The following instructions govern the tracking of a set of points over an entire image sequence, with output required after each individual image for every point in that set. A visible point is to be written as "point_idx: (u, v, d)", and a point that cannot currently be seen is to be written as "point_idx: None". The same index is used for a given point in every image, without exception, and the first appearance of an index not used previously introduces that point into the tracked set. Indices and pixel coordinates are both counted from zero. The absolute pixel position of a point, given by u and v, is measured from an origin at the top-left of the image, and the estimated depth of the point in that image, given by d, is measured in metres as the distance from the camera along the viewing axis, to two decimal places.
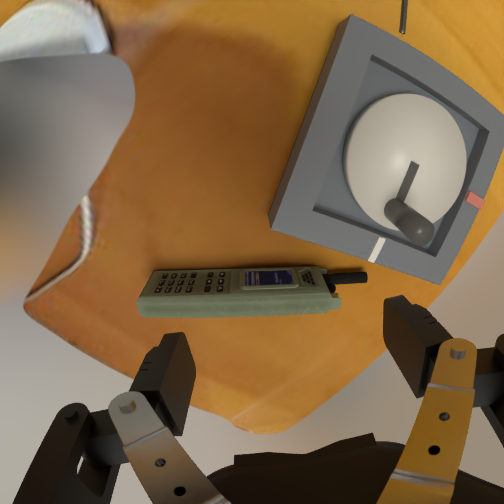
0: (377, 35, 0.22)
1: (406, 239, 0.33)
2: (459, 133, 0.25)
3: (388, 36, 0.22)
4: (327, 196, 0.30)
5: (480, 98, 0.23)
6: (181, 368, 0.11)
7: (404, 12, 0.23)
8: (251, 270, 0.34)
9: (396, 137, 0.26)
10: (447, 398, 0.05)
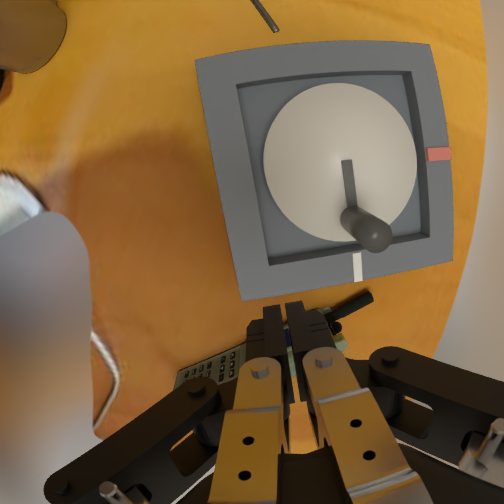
0: (230, 61, 0.23)
1: None
2: (377, 97, 0.23)
3: (241, 54, 0.23)
4: (282, 241, 0.30)
5: (378, 44, 0.22)
6: None
7: (262, 11, 0.24)
8: None
9: (310, 147, 0.25)
10: (347, 406, 0.06)
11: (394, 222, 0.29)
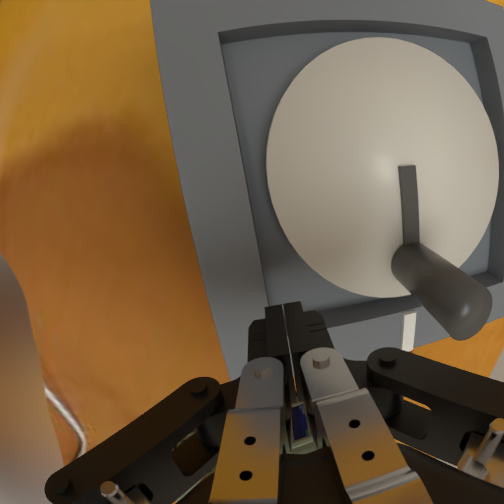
0: None
1: None
2: (448, 67, 0.12)
3: None
4: (295, 295, 0.18)
5: None
6: None
7: None
8: None
9: (348, 142, 0.14)
10: (345, 406, 0.06)
11: None
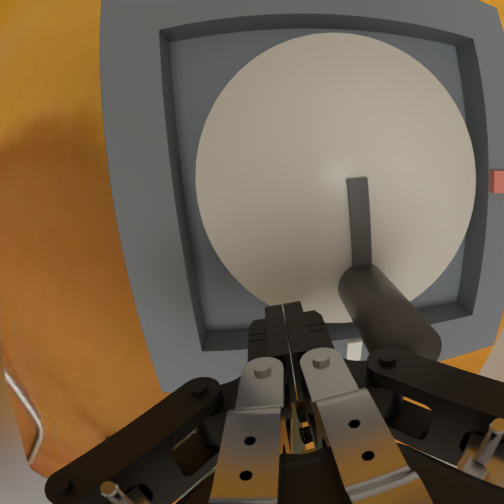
0: None
1: None
2: (415, 64, 0.11)
3: None
4: (231, 309, 0.17)
5: None
6: None
7: None
8: None
9: (286, 152, 0.13)
10: (345, 407, 0.06)
11: None
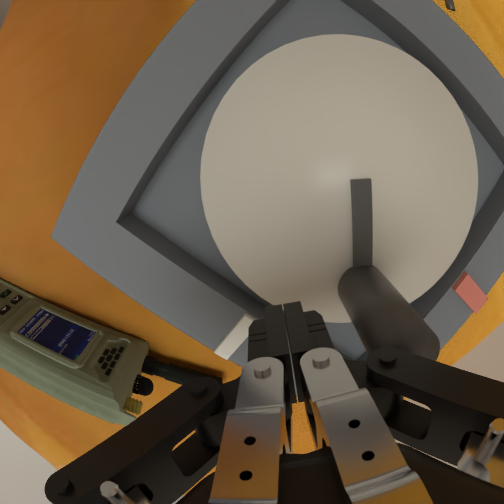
0: None
1: None
2: (423, 69, 0.11)
3: None
4: (168, 209, 0.16)
5: None
6: None
7: None
8: (48, 310, 0.19)
9: (291, 151, 0.13)
10: (345, 406, 0.06)
11: None
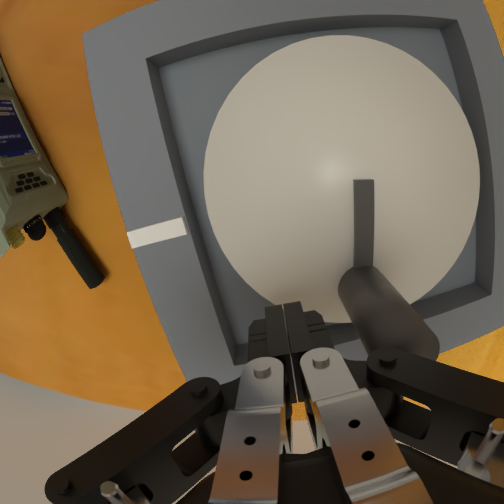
0: (482, 22, 0.10)
1: (222, 291, 0.17)
2: (427, 72, 0.11)
3: (494, 39, 0.10)
4: (190, 87, 0.14)
5: None
6: None
7: None
8: (14, 106, 0.14)
9: (295, 149, 0.13)
10: (345, 406, 0.06)
11: (247, 295, 0.17)
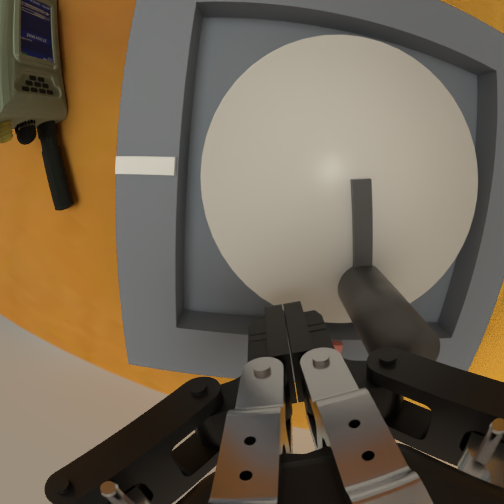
0: None
1: (187, 249, 0.16)
2: (423, 69, 0.11)
3: None
4: (226, 43, 0.13)
5: (494, 297, 0.15)
6: None
7: None
8: (51, 13, 0.12)
9: (291, 150, 0.13)
10: (345, 407, 0.06)
11: (211, 260, 0.17)
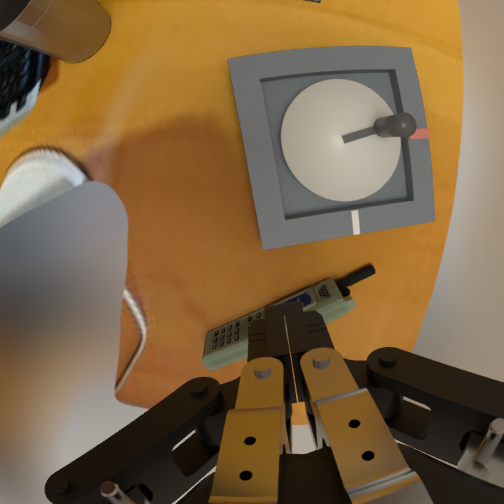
0: (255, 61, 0.30)
1: (381, 200, 0.36)
2: (285, 121, 0.32)
3: (264, 56, 0.29)
4: (295, 202, 0.36)
5: (369, 48, 0.29)
6: None
7: None
8: (279, 303, 0.41)
9: (340, 168, 0.33)
10: (345, 407, 0.06)
11: (384, 189, 0.36)
